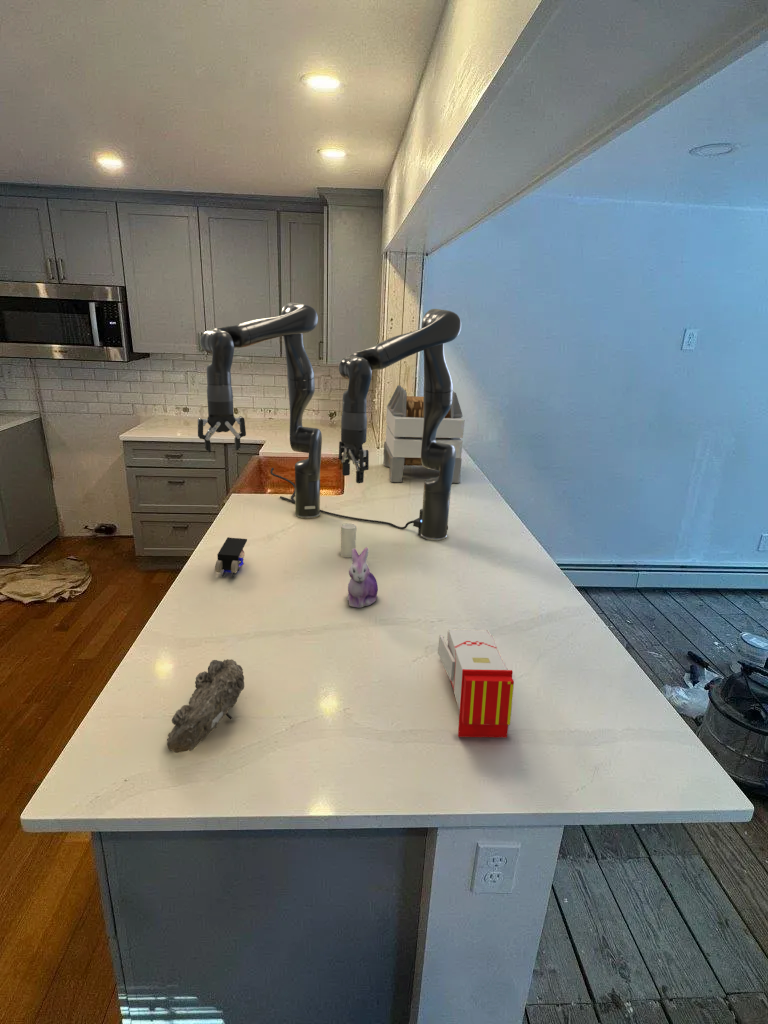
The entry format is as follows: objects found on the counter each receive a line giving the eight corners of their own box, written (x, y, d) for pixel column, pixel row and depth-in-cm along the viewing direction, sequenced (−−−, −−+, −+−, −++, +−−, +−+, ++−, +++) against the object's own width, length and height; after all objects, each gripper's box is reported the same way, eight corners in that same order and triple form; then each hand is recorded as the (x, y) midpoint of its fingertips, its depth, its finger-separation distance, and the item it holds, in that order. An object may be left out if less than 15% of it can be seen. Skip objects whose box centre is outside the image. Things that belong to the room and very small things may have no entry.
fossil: (192, 660, 117) (244, 628, 112) (224, 691, 120) (276, 661, 115) (142, 746, 98) (202, 712, 93) (182, 779, 101) (242, 748, 96)
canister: (338, 552, 183) (338, 524, 179) (352, 550, 185) (352, 522, 181) (343, 558, 179) (344, 529, 175) (357, 556, 180) (358, 527, 177)
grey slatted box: (382, 463, 289) (386, 382, 275) (445, 464, 293) (451, 384, 279) (390, 482, 257) (394, 392, 243) (460, 483, 261) (468, 394, 247)
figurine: (354, 612, 147) (355, 559, 142) (338, 595, 155) (339, 544, 150) (386, 605, 151) (388, 553, 146) (369, 588, 160) (371, 539, 155)
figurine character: (238, 584, 162) (249, 557, 175) (236, 562, 158) (247, 536, 172) (215, 584, 161) (227, 556, 175) (212, 561, 158) (225, 535, 171)
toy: (488, 613, 130) (523, 677, 101) (484, 667, 133) (517, 744, 104) (435, 612, 130) (455, 676, 101) (432, 666, 133) (451, 743, 103)
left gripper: (240, 396, 179) (243, 446, 184) (193, 397, 173) (197, 449, 178) (246, 400, 172) (248, 452, 178) (198, 401, 166) (201, 455, 172)
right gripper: (331, 422, 171) (331, 474, 176) (354, 432, 159) (353, 487, 165) (353, 420, 174) (352, 471, 180) (377, 430, 163) (375, 483, 169)
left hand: (223, 450), depth 178 cm, fingers open, 8 cm apart
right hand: (352, 478), depth 173 cm, fingers open, 8 cm apart
